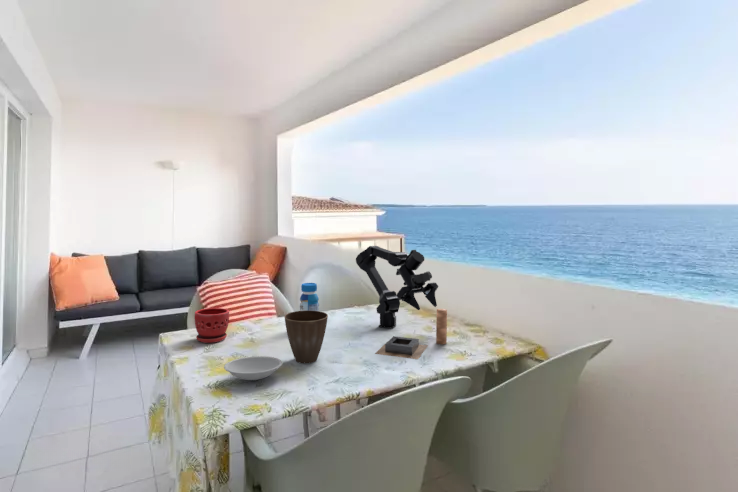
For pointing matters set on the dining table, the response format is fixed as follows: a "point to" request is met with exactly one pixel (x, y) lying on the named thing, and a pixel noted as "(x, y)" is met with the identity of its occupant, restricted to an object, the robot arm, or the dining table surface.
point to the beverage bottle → (309, 297)
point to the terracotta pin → (441, 326)
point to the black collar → (402, 345)
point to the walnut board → (414, 356)
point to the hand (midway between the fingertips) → (427, 307)
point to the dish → (253, 367)
